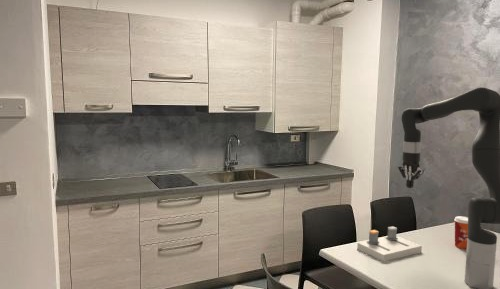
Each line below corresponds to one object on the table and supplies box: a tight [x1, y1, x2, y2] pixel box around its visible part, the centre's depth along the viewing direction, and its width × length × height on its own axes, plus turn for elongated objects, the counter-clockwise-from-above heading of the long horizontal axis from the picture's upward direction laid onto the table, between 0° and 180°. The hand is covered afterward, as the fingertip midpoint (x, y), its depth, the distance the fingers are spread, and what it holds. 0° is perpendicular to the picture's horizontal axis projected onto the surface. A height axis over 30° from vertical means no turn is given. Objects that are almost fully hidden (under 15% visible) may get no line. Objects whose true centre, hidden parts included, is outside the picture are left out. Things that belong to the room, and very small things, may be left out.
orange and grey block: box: [366, 229, 379, 245], centre depth 171 cm, size 4×3×6 cm
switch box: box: [357, 235, 423, 262], centre depth 171 cm, size 24×16×3 cm, turn 117°
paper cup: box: [454, 215, 468, 250], centre depth 176 cm, size 8×8×14 cm
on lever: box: [385, 225, 398, 241], centre depth 177 cm, size 4×3×6 cm
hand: (409, 187), depth 172 cm, fingers closed
